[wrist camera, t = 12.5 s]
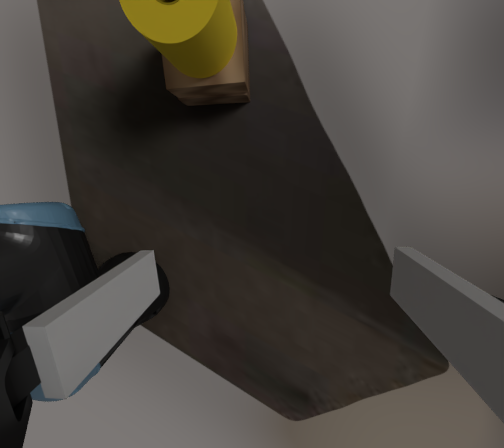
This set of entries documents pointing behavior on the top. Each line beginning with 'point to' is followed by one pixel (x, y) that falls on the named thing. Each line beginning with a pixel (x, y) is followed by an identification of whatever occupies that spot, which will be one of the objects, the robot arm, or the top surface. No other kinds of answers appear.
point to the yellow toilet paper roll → (187, 32)
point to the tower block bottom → (222, 97)
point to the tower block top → (224, 81)
